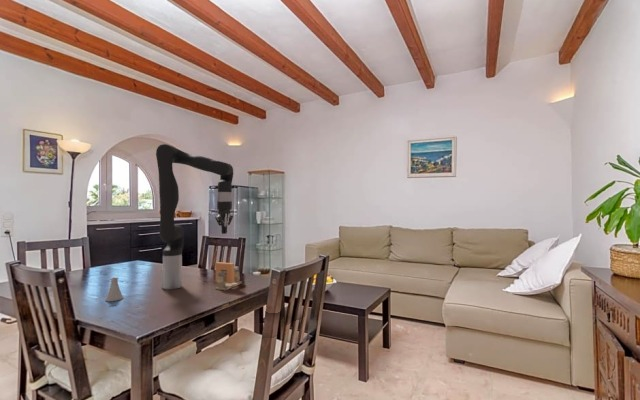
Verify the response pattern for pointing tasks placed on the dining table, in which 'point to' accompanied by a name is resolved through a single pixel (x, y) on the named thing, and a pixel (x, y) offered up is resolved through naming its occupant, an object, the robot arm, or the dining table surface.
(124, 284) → the dining table surface
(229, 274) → the orange square plate
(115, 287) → the flask
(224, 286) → the pipe stand
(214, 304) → the dining table surface
